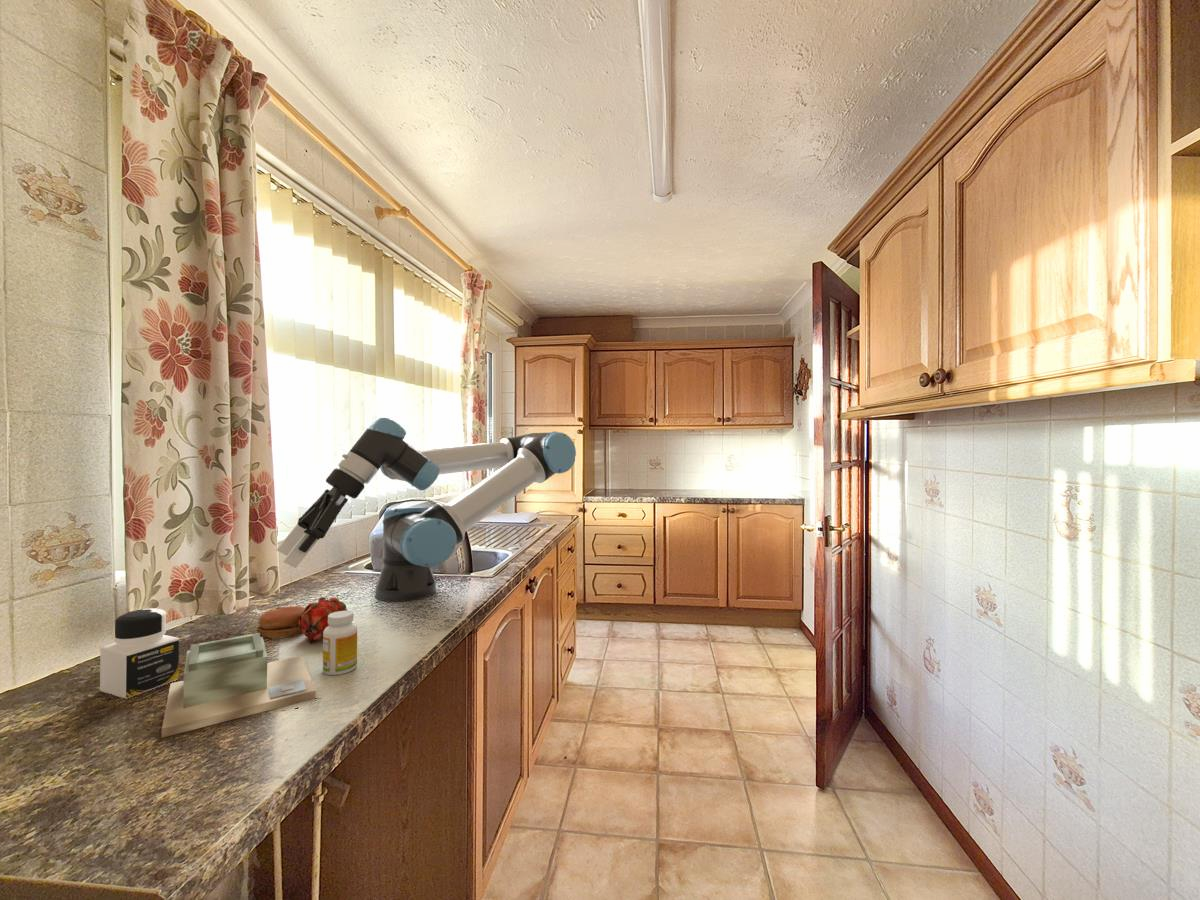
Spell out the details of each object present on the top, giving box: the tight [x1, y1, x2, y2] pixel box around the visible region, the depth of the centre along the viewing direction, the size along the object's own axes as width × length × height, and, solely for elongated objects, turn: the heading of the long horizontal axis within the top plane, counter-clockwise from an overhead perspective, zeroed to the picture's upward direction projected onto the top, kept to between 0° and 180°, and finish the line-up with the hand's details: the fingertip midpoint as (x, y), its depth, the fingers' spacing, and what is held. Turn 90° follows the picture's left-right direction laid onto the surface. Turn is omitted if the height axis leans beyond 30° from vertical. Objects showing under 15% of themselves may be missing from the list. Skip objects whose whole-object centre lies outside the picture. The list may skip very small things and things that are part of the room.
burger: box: [256, 605, 306, 639], centre depth 105 cm, size 10×9×5 cm
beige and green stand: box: [161, 632, 317, 739], centre depth 78 cm, size 18×16×7 cm
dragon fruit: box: [299, 596, 348, 644], centre depth 101 cm, size 8×8×12 cm
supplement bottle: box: [322, 610, 358, 676], centre depth 87 cm, size 5×5×10 cm
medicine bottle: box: [99, 607, 180, 700], centre depth 80 cm, size 7×7×12 cm
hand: (285, 558), depth 105 cm, fingers open, 13 cm apart
